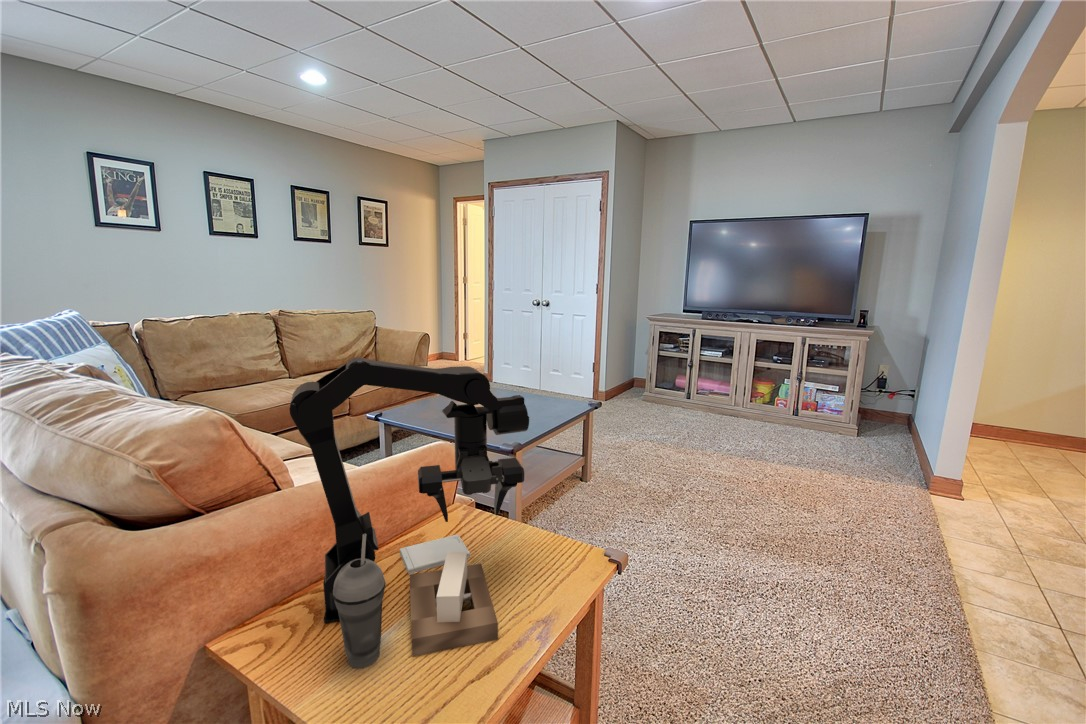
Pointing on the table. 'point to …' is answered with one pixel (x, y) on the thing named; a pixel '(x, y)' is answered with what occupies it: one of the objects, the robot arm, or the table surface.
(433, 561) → the hard drive
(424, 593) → the brown square frame
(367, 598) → the beverage cup
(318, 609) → the table surface
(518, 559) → the table surface
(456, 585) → the cream block
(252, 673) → the table surface
